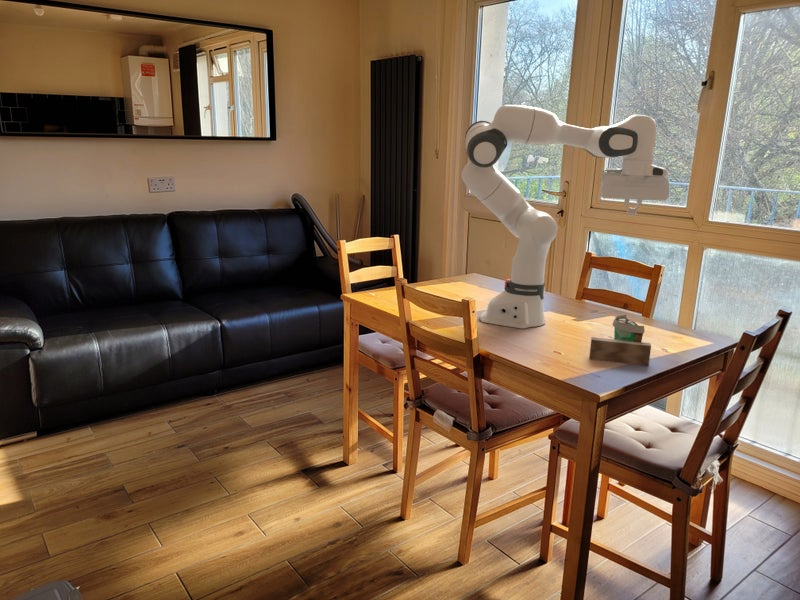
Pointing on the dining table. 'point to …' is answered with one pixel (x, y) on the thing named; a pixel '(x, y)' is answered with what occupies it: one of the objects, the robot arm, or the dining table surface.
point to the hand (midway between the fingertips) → (631, 213)
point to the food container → (627, 329)
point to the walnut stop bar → (620, 351)
